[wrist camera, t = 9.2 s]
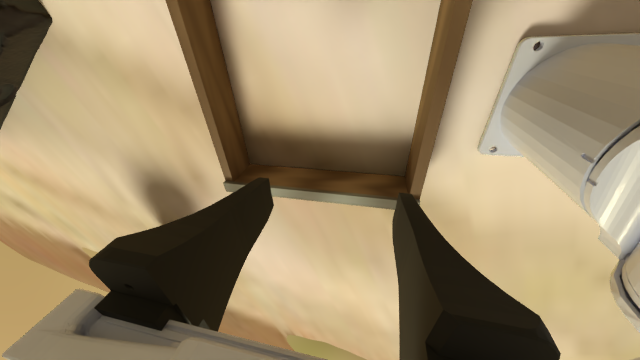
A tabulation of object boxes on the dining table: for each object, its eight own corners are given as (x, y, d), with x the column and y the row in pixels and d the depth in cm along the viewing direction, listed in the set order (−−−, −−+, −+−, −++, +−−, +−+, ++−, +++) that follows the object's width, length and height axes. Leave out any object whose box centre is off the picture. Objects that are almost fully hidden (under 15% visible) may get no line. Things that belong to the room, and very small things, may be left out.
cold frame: (476, -92, 12) (512, -135, 9) (412, 184, 22) (417, 212, 19) (186, -53, 15) (136, -73, 12) (245, 170, 25) (226, 191, 22)
